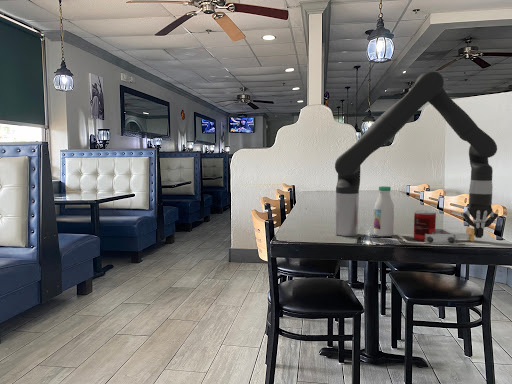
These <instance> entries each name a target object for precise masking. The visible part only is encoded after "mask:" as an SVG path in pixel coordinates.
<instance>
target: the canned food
mask: <svg viewBox="0 0 512 384" xmlns="http://www.w3.org/2000/svg"><path fill="white" fill-rule="evenodd" d="M436 221H437V211H434V210H428V209H427V210H425V209H423V210H422V209H420V210H419V209H418V210H414V215H413V235H414V236H413V238H414V240H415V241H418V240H419V241H418V242H425V234H435V229H436V225H437V224H436V223H437V222H436Z"/></svg>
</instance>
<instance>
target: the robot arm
mask: <svg viewBox="0 0 512 384" xmlns="http://www.w3.org/2000/svg"><path fill="white" fill-rule="evenodd" d="M444 82H445V81H444V77H443V76H442V74H441V73H440V72H438V71H431V70H430V71H427V72H423V73H421V74H420V75H418V77H417V78H416V79H415V83H414V84H413V86H412V87H411V88H410V89H409V91H408V92H406V94H405V95H404V96H403V97H401V98H400V99H399V100H398V101H397V102H395V103H394V104H393V105H391V106H390V107H388V109H386V110H385V111H384V112H383V113H381V115H380V116H378V117H377V119H376V120H375V121H373V123H372V124H371V125H370V126H369V127H368V128H367V129H366V131H365V132H364V133H363V134H362V135H361V136H360V138H359V139H358V140H356V142H355V143H354V144H353V145H352V146H350V147H349V148H348V149H346V151H344V152H343V153H342V154H340V155H339V156H338V157H337V159H336V160H335V163H334V170H335V171H336V174H337V182H336V186H335V210H334V233H335V235H336V236H343V237H345V236H346V237H355V236H358V235H359V207H360V206H359V203H360V186H361V185H360V184H361V165H363V163H364V162H365V161H366V159H367V158H369V156H371V155H372V154H373V153H375V152H376V151H377V150H380V148H382V147H383V146H384V145H386V144H387V143H388V142H389V141H390V140H391V139H392V138H394V136H396V135H397V134H398V133H399V132H400V130H401V129H403V128H404V127H405V125H406V124H407V123H408V122H409V121H410V120H411V119H412V118H413V116H414V115H415V114H416V113H417V112H419V110H420V109H421V108H422V107H423V106H425V105H426V104H427V103H428V104H430V105H431V106H432V107H433V108H434V109H435V110H436V111H437V112H438V113H439V114H440V115H441V117H442V118H443V119H444V120H445V122H446V123H447V124H448V126H449V127H450V128H451V129H452V130H453V131H454V133H455V134H456V135H457V136H458V137H459V138H460V139H461V140H462V141H464V142H467V143H468V144H469V147H468V148H469V149H468V157H469V165H470V167H471V169H470V181H469V182H470V183H469V189H468V193H469V195H468V196H469V197H468V207H467V208H466V211H464V212H461V213H460V215H461V216H462V218H463V219H464V220H465V221H466V223H467V224H468V226H471V227H473V229H474V238H477V239H482V238H483V237H484V229H485V228H488V227H490V226H491V225H492V224H493V223H494V222H495V221H496V220H497V218H499V214H498V213H496V212H495V211H493V207H492V205H493V171H494V170H493V167H492V165H490V164H489V158H492V157H494V156H495V155H496V154H497V151H498V146H497V143H496V142H495V140H494V139H493V138H492V136H490V135H488V133H486V132H485V131H484V130H483V129H481V128H480V127H479V126H478V125H477V123H476V122H475V121H474V120H473V118H471V116H470V115H469V114H468V113H467V112H466V111H465V110H463V108H462V107H460V106H459V104H457V103H456V102H455V101H454V100H453V99H452V98H451V97H450V96H449V95H448V94H447V92H446V91H445V88H444V84H445V83H444ZM470 217H472V219H471V218H470Z"/></svg>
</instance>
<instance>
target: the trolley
mask: <svg viewBox="0 0 512 384" xmlns="http://www.w3.org/2000/svg"><path fill="white" fill-rule="evenodd" d="M465 228H466V230H465V232H451V231H448V230H447V229H445V228H435V234H425V241H424V242H430V243H456V240H468V241H470V242H475V236H474V228H472V227H467V226H466V227H465Z"/></svg>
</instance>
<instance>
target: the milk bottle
mask: <svg viewBox="0 0 512 384" xmlns="http://www.w3.org/2000/svg"><path fill="white" fill-rule="evenodd" d="M378 192H379V193H378V197H377V199H376V200H375V204H374V209H373V210H374V211H373V212H374V213H373V234H374V235H375V236H380V237H392V236H393V235H394V228H395V227H394V223H395V222H394V219H395V217H394V216H395V206H394V202H393V200H392V197H391V186H388V185H387V186H378Z"/></svg>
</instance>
